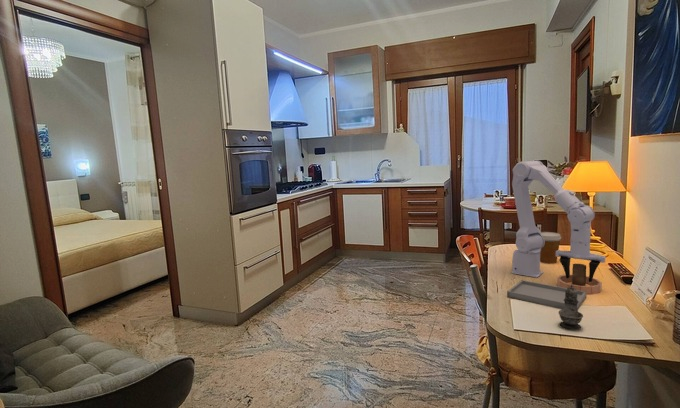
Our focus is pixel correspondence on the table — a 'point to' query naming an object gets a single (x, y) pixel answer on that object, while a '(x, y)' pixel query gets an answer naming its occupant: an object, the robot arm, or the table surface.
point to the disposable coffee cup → (550, 247)
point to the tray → (542, 294)
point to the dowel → (579, 275)
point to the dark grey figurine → (570, 311)
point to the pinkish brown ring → (592, 289)
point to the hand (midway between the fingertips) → (578, 279)
